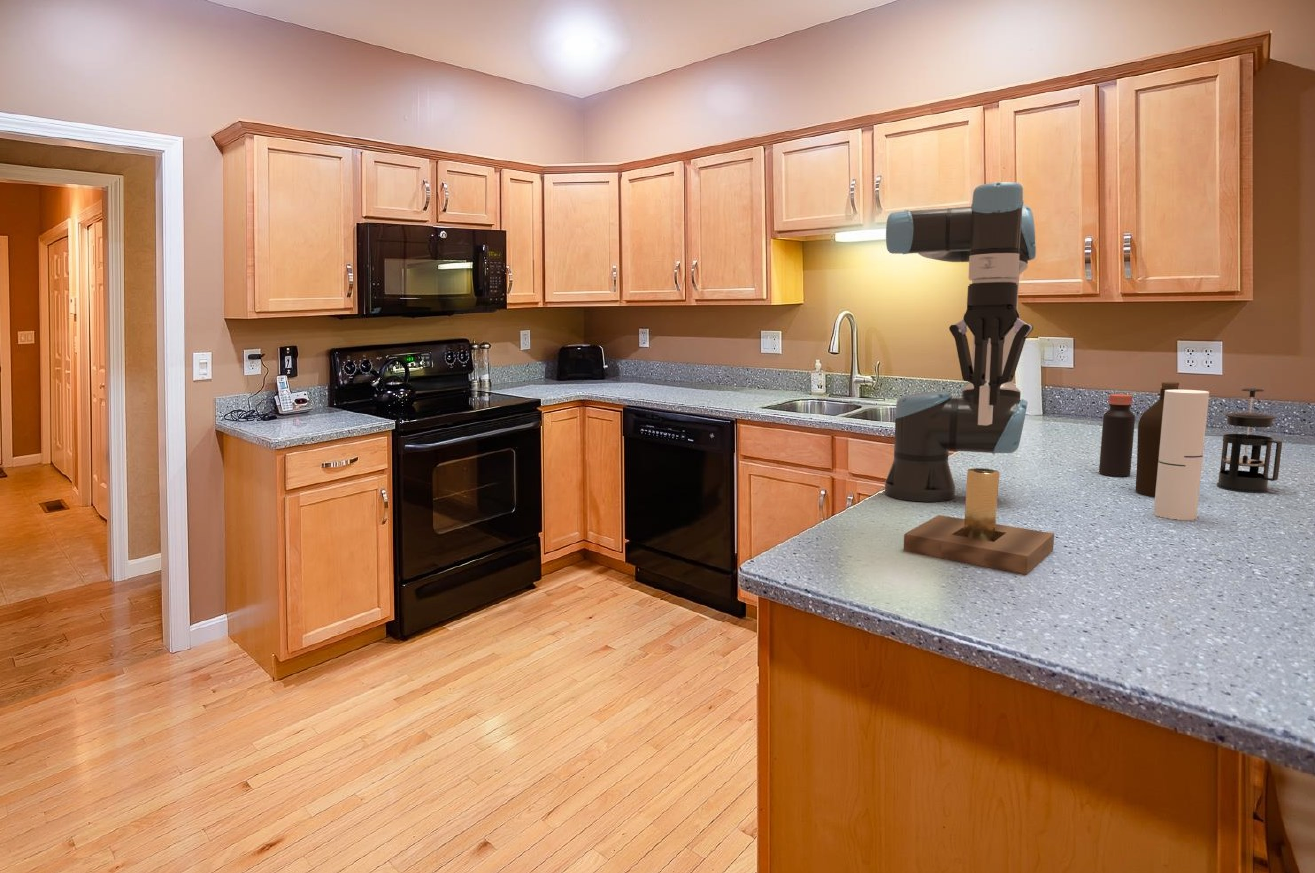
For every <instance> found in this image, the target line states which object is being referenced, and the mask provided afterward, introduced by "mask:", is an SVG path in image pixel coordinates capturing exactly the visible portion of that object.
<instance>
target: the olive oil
mask: <svg viewBox="0 0 1315 873" xmlns="http://www.w3.org/2000/svg"><path fill="white" fill-rule="evenodd" d="M1179 386H1180V383H1179V382H1176V381H1175V382H1174V381H1163V382H1161V388H1160V389H1159V390H1160V391H1159V392H1160V393H1159V394H1160V395H1159V399H1158V400H1157V401H1156V402H1155V403H1153V405H1151V406H1150V407H1149V408H1147V409H1146V410H1145V411H1144V412H1143V413H1142V414H1141V415H1140V418H1139V420H1138V423H1137V443H1136V444H1137V446H1136V447H1137V448H1136V474H1135V475H1136V476H1135V477H1136V478H1135V492H1136V493H1137V494H1139V495H1144V496H1147V497H1152V498H1155V493H1156V482H1157V471H1158V461H1159V449H1160V438H1161V427H1162V416H1163V405H1164V395H1165V390H1180V389H1179Z"/></svg>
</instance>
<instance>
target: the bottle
mask: <svg viewBox="0 0 1315 873" xmlns="http://www.w3.org/2000/svg"><path fill="white" fill-rule="evenodd" d="M1132 405H1133V395H1132V394H1119V393H1117V394H1115V393H1114V394H1109V397H1108V406H1109V410H1107V411H1106V412H1105V413H1104V414H1103V416H1102V418H1103V419H1102V427H1101V429H1102V430H1101V440H1100V454H1099V455H1100V456H1099V466H1098V468H1099V469H1098V473H1099V474H1100V475H1103V476H1106V477H1115V478H1125V477H1130V475H1131V470H1132V469H1131V468H1132V458H1133V448H1134V446H1133V445H1134V435H1135V434H1134V433H1135V424H1136V423H1135V422H1136V416H1135V414H1134V413H1133V412H1132V411H1131V407H1132Z"/></svg>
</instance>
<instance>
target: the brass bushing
mask: <svg viewBox="0 0 1315 873" xmlns="http://www.w3.org/2000/svg"><path fill="white" fill-rule="evenodd" d="M966 474H967V475H966V493H965V504H964V505H965V507H964V518H963V519H964V534H963V537H968V538H973V539H979V540H985V541H991V542H994V541H995V528H996V524H997V514H998V513H997V512H998V499H999V483H1000V471H999V470H996V469H990V468H983V467H973V468H969V469H967V473H966Z"/></svg>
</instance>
